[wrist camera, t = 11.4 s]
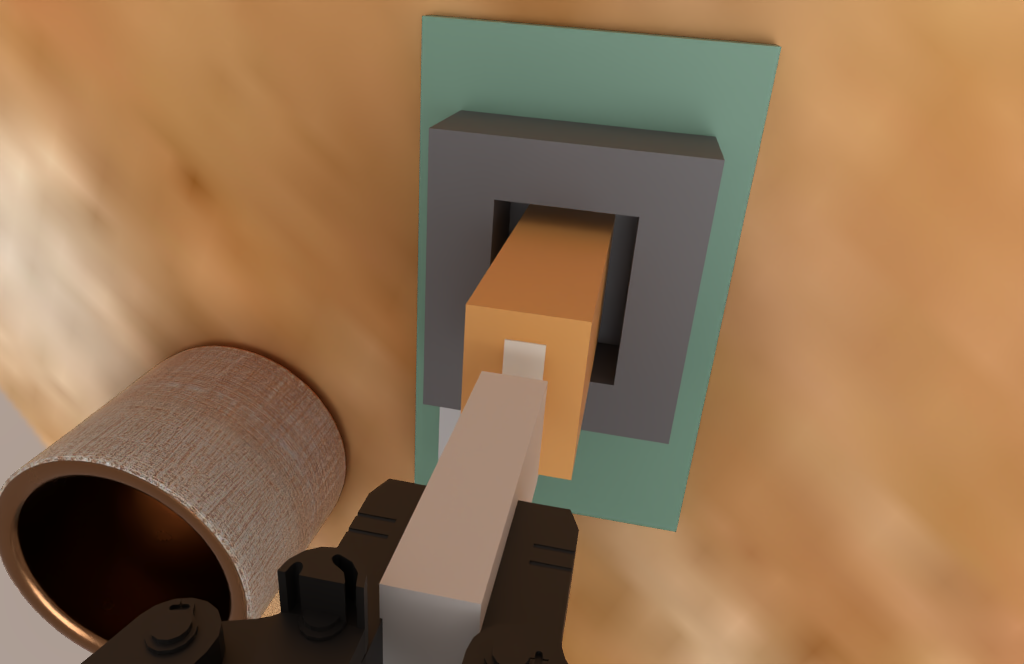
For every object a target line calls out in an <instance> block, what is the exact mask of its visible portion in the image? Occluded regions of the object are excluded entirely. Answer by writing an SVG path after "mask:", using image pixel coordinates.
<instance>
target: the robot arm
mask: <svg viewBox="0 0 1024 664" xmlns="http://www.w3.org/2000/svg"><path fill="white" fill-rule="evenodd" d="M547 384H548V381H544V380H537V379H531V378H524V377H518V376H511V375H505V374H499V373H492V372H486V371H482V372H481V374H480V376H479V378H478V380H477V382H476V384H475V386H474V388H473V390H472V392H471V394H470V397H469V399H468V401H467V403H466V405H465V407H464V409H463V411H462V413H461V415H460V417H459V419H458V421H457V423H456V426H455V428H454V430H453V432H452V434H451V436H450V438H449V440H448V442H447V444H446V446H445V448H444V450H443V453H442V455H441V457H440V459H439V461H438V463H437V465H436V467H435V469H434V471H433V473H432V475H431V477H430V480H429V482H428V484H427V485H421V484H416V483H410V482H404V481H399V480H393V479H388V480H387V481H386V482H384V483H383V484H381V485H380V486H379V487H377V488H376V489H375V490H373V491H372V492H371V493H369V495H368V496H367V498H366V500H365V502H364V503H363V505H362V507H361V508H360V510H359V512H358V516H356V517H355V519H354V520H353V522H352V524H351V525H350V527H349V531H348V532H346V534H345V536H344V537H343V539H342V541H341V542H340V544H339V546H338V547H337V548H333V547H319V548H314V549H310V550H305V551H303V552H301V553H299V554H297V555H295V556H293V557H291V558H289V559H288V560H287V561H286V562H285V563H284V564H283V565H282V566H281V567H280V568H279V569H278V570H277V573H278V584H279V595H280V606H281V613H279V614H276V615H274V616H270V617H264V618H258V619H246V620H232V621H221V618H220V615H219V612H218V609H216V608H215V607H214V606H213V605H211V604H210V603H209V602H208V601H204V600H200V599H196V598H179V599H172V600H169V601H166V602H163V603H160V604H157V605H155V606H153V607H152V608H150V609H149V610H147V611H145V612H144V613H142V614H141V615H139V616H138V617H137V618H136V619H134V620H133V621H132V622H131V623H129V624H128V625H127V626H126V627H125V628H123V629H122V630H121V631H120V632H119V633H117V634H116V635H115V636H114V637H113V638H111V639H110V640H109V641H108V642H107V643H105V644H104V645H103V646H102V647H101V648H99V649H98V650H97V651H96V652H94V653H93V654H92V655H91V656H90V657H88V658H87V659H86V660H85V661H84V662H82V663H81V664H568V663H567V661H566V659H565V657H564V653H563V650H562V639H563V632H564V626H565V620H566V613H567V607H568V600H569V594H570V587H571V580H572V573H573V566H574V559H575V552H576V545H577V538H578V531H579V530H578V527H577V525H576V522H575V520H574V517H573V515H572V512H571V510H570V509H565V508H559V507H554V506H548V505H542V504H537V503H532V499H533V495H534V491H535V488H536V484H537V478H538V469H539V460H540V450H541V441H542V431H543V422H544V412H545V403H546V394H547Z"/></svg>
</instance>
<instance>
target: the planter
mask: <svg viewBox="0 0 1024 664" xmlns="http://www.w3.org/2000/svg"><path fill="white" fill-rule="evenodd" d="M345 475H346V456H345V449H344V445H343V441H342V438H341V435H340V432H339V430H338V427H337V425H336V423H335V421H334V419H333V417H332V416H331V414H330V412H329V411H328V409H327V408H326V406H325V405H324V404H323V402H322V401H321V400H320V398H319V397H318V396H317V395H316V394H315V393H314V391H313V390H312V389H310V388H309V387H308V386H307V385H306V384H305V383H304V382H303V381H302V380H301V379H300V378H298V377H297V376H296V375H295V374H293V373H292V372H290V371H289V370H288V369H286V368H285V367H283V366H281V365H280V364H278V363H276V362H274V361H272V360H270V359H268V358H266V357H264V356H262V355H259V354H256V353H254V352H251V351H247V350H244V349H239V348H235V347H228V346H202V347H196V348H191V349H187V350H185V351H182V352H180V353H178V354H175V355H173V356H171V357H169V358H167V359H165V360H164V361H162V362H161V363H159V364H158V365H156V366H155V367H154V368H152V369H151V370H150V371H148V372H147V373H146V374H144V375H143V376H142V377H140V378H139V379H138V380H136V381H135V382H134V383H133V384H131V385H130V386H129V387H127V388H126V389H125V390H123V391H122V392H121V393H119V394H118V395H117V396H116V397H114V398H113V399H112V400H110V401H109V402H108V403H107V404H105V405H104V406H103V407H101V408H100V409H99V410H97V411H96V412H95V413H93V414H92V415H91V416H89V417H88V418H87V419H86V420H84V421H83V422H82V423H80V424H79V425H78V426H76V427H75V428H74V429H72V430H71V431H70V432H68V433H67V434H66V435H64V436H63V437H62V438H60V439H59V440H58V441H56V442H55V443H54V444H52V445H51V446H49V447H48V448H47V449H45V450H44V451H43V452H42V453H40V454H39V455H37V456H36V457H35V458H33V459H32V460H31V461H29V462H28V463H27V464H25V465H24V466H23V467H21V468H20V469H19V470H17V471H16V472H15V473H14V474H13V475H12V476H11V477H10V478H9V479H8V480H7V481H6V482H5V484H4V485H3V486H2V488H1V490H0V558H1V560H2V562H3V565H4V567H5V569H6V571H7V573H8V575H9V576H10V578H11V580H12V581H13V583H14V584H15V586H16V587H17V588H18V590H19V591H20V593H21V594H22V596H23V597H24V598H25V599H26V600H27V601H28V603H29V604H30V605H31V606H32V607H33V608H34V609H35V611H37V613H39V614H40V615H41V617H42V618H44V619H45V620H46V621H47V622H48V623H49V624H50V625H51V626H53V627H54V628H55V629H56V630H57V631H59V632H60V633H61V634H63V635H64V636H65V637H67V638H68V639H70V640H71V641H73V642H74V643H76V644H77V645H79V646H81V647H82V648H84V649H86V650H88V651H89V652H91V653H94V652H96V651H97V650H98V649H99V648H101V647H102V646H103V645H104V644H105V643H107V642H108V641H109V640H110V639H111V638H113V637H114V636H115V635H116V634H117V633H119V632H120V631H121V630H122V629H123V628H125V627H126V626H127V625H128V624H129V623H131V622H132V621H133V620H134V619H136V618H137V617H138V616H139V615H141V614H142V613H144V612H145V611H147V610H149V609H150V608H152V607H153V606H155V605H157V604H160V603H163V602H166V601H169V600H172V599H179V598H196V599H200V600H204V601H208V602H209V603H210V604H211V605H213V606H214V607H215V608H216V609H218V612H219V615H220V618H221V621H232V620H246V619H258V618H260V617H261V616H262V614H263V613H264V611H265V610H266V608H267V607H268V605H269V604H270V602H271V601H272V599H273V598H274V596H275V594H276V593H277V592H278V590H279V584H278V573H277V570H278V569H279V568H280V567H281V566H282V565H283V564H284V563H285V562H286V561H287V560H288V559H289V558H291V557H293V556H295V555H297V554H299V553H301V552H303V551H305V550H306V549H307V547H308V546H309V544H310V543H311V541H312V540H313V538H314V537H315V535H316V534H317V532H318V531H319V529H320V528H321V526H322V525H323V524H324V522H325V521H326V519H327V517H328V516H329V514H330V513H331V511H332V510H333V508H334V507H335V505H336V503H337V501H338V498H339V496H340V493H341V491H342V488H343V485H344V481H345Z"/></svg>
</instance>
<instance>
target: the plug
mask: <svg viewBox="0 0 1024 664" xmlns="http://www.w3.org/2000/svg"><path fill="white" fill-rule="evenodd" d="M615 216H616V214H609V213H601V212H593V211H585V210H576V209H568V208H560V207H552V206H543V205H535V204H530V205H529V206H528V208H527V209H526V211H525V213H524V214H523V216H522V217H521V219H520V220H519V222H518V223H517V225H516V227H515V228H514V230H513V231H512V233H511V234H510V236H509V238H508V239H507V241H506V242H505V244H504V245H503V247H502V249H501V250H500V252H499V253H498V255H497V256H496V258H495V259H494V261H493V263H492V264H491V266H490V267H489V269H488V270H487V272H486V274H485V275H484V277H483V278H482V280H481V281H480V283H479V285H478V286H477V288H476V289H475V291H474V292H473V294H472V295H471V297H470V299H469V300H468V302H467V303H466V312H465V332H464V353H463V374H462V395H461V413H462V411H463V409H464V407H465V405H466V403H467V401H468V399H469V397H470V394H471V392H472V390H473V388H474V386H475V384H476V382H477V380H478V378H479V376H480V374H481V372H482V371H486V372H492V373H499V374H505V375H511V376H518V377H524V378H531V379H537V380H544V381H548V384H547V394H546V403H545V412H544V422H543V431H542V441H541V450H540V460H539V469H538V475H544V476H550V477H556V478H561V479H567V480H571V479H572V473H573V468H574V463H575V457H576V452H577V447H578V441H579V436H580V431H581V425H582V420H583V415H584V410H585V404H586V399H587V394H588V388H589V383H590V378H591V372H592V367H593V362H594V356H595V351H596V346H597V340H598V335H599V330H600V325H601V317H602V310H603V303H604V296H605V288H606V281H607V274H608V267H609V259H610V252H611V245H612V237H613V230H614V223H615Z"/></svg>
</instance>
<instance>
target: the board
mask: <svg viewBox="0 0 1024 664" xmlns="http://www.w3.org/2000/svg"><path fill="white" fill-rule="evenodd" d="M780 51H781V47H780V46H778V45H773V44H761V43H750V42H738V41H727V40H715V39H703V38H692V37H680V36H669V35H657V34H645V33H634V32H622V31H611V30H599V29H588V28H576V27H564V26H553V25H541V24H530V23H518V22H507V21H495V20H483V19H472V18H460V17H449V16H437V15H426V16H422V53H421V115H420V177H419V239H418V300H417V362H416V424H415V483H416V484H421V485H427V484H428V482H429V480H430V477H431V475H432V473H433V471H434V469H435V467H436V465H437V463H438V461H439V459H440V457H441V455H442V453H443V450H444V448H445V446H446V444H447V442H448V440H449V438H450V436H451V434H452V432H453V430H454V428H455V426H456V423H457V421H458V419H459V417H460V415H461V395H462V374H463V353H464V332H465V312H466V303H467V302H468V300H469V299H470V297H471V295H472V294H473V292H474V291H475V289H476V288H477V286H478V285H479V283H480V281H481V280H482V278H483V277H484V275H485V274H486V272H487V270H488V269H489V267H490V266H491V264H492V263H493V261H494V259H495V258H496V256H497V255H498V253H499V252H500V250H501V249H502V247H503V245H504V244H505V242H506V241H507V239H508V238H509V236H510V234H511V233H512V231H513V230H514V228H515V227H516V225H517V223H518V222H519V220H520V219H521V217H522V216H523V214H524V213H525V211H526V209H527V208H528V206H529V205H530V204H535V205H543V206H552V207H560V208H568V209H576V210H585V211H593V212H601V213H609V214H616V216H615V223H614V230H613V237H612V245H611V252H610V259H609V267H608V274H607V281H606V288H605V296H604V303H603V310H602V317H601V325H600V330H599V335H598V340H597V346H596V351H595V356H594V362H593V367H592V372H591V378H590V383H589V388H588V394H587V399H586V404H585V410H584V415H583V420H582V425H581V431H580V436H579V441H578V447H577V452H576V457H575V463H574V468H573V473H572V479H571V480H567V479H561V478H556V477H550V476H544V475H538V478H537V484H536V488H535V491H534V495H533V499H532V503H537V504H542V505H548V506H554V507H559V508H565V509H570V510H571V512H572V513H574V514H579V515H585V516H590V517H596V518H602V519H607V520H613V521H618V522H624V523H629V524H635V525H641V526H646V527H652V528H657V529H663V530H668V531H674V532H676V530H677V525H678V521H679V516H680V512H681V507H682V502H683V498H684V493H685V489H686V484H687V479H688V475H689V470H690V466H691V461H692V456H693V452H694V447H695V443H696V438H697V433H698V429H699V424H700V419H701V415H702V410H703V406H704V401H705V396H706V392H707V387H708V383H709V378H710V373H711V369H712V364H713V360H714V355H715V350H716V346H717V341H718V337H719V332H720V327H721V323H722V318H723V314H724V309H725V304H726V300H727V295H728V290H729V286H730V281H731V277H732V272H733V267H734V263H735V258H736V254H737V249H738V244H739V240H740V235H741V231H742V226H743V221H744V217H745V212H746V208H747V203H748V198H749V194H750V189H751V184H752V180H753V175H754V171H755V166H756V161H757V157H758V152H759V148H760V143H761V138H762V134H763V129H764V125H765V120H766V115H767V111H768V106H769V102H770V97H771V92H772V88H773V83H774V78H775V74H776V69H777V65H778V60H779V55H780Z"/></svg>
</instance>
